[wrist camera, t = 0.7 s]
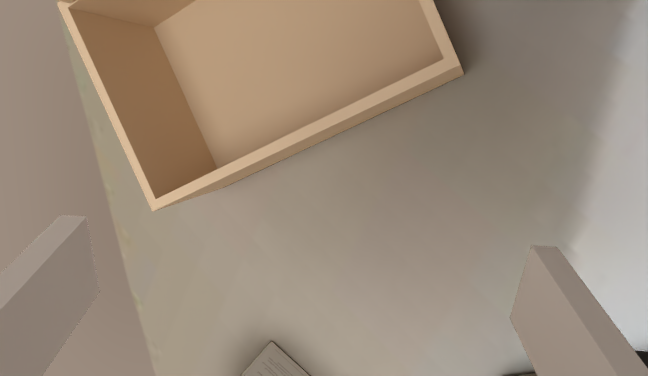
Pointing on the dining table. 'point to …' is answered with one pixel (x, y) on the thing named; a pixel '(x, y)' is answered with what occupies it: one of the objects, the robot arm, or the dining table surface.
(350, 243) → the dining table surface
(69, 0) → the light wood flat panel
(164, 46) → the light wood open box
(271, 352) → the small box
